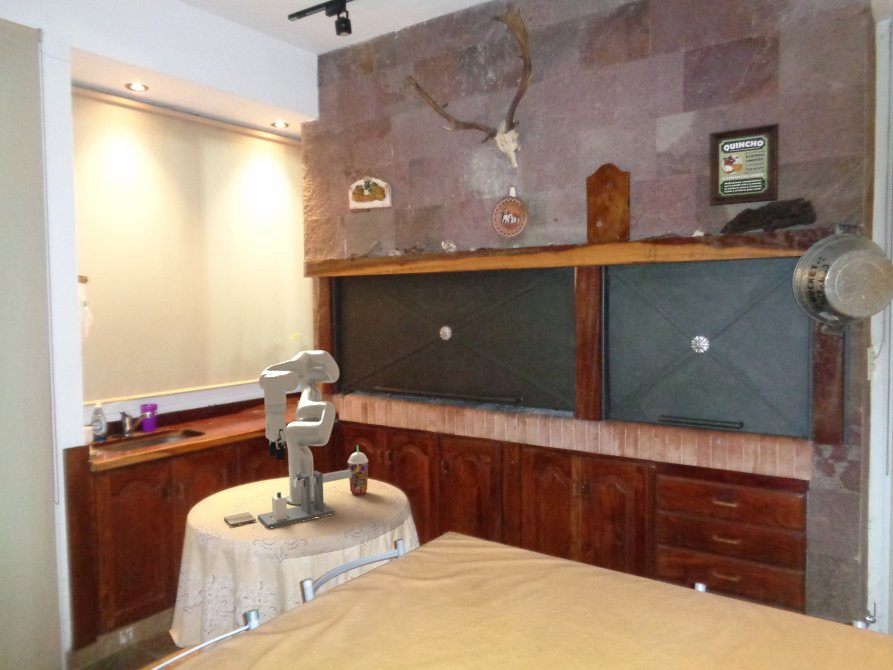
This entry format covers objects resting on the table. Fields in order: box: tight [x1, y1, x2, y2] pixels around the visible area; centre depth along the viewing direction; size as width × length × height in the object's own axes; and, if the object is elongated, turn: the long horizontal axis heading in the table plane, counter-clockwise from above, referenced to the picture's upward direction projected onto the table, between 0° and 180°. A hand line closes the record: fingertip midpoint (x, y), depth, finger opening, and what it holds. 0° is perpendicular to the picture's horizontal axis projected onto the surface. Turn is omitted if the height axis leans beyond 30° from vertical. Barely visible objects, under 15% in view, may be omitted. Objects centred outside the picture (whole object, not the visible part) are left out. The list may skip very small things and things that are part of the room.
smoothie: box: [347, 444, 369, 496], centre depth 264 cm, size 8×8×20 cm
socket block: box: [257, 470, 335, 529], centre depth 239 cm, size 12×25×15 cm, turn 123°
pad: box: [223, 511, 257, 527], centre depth 236 cm, size 9×9×1 cm
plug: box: [271, 491, 288, 521], centre depth 234 cm, size 5×5×10 cm
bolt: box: [294, 468, 352, 488], centre depth 243 cm, size 3×22×5 cm, turn 123°
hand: (277, 457), depth 233 cm, fingers open, 6 cm apart
